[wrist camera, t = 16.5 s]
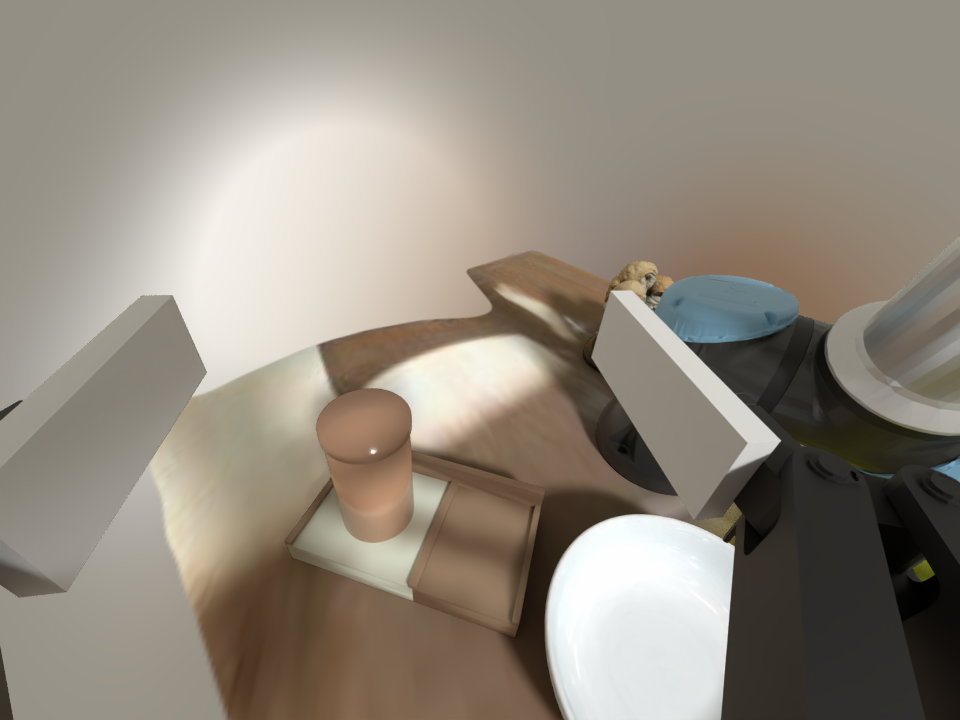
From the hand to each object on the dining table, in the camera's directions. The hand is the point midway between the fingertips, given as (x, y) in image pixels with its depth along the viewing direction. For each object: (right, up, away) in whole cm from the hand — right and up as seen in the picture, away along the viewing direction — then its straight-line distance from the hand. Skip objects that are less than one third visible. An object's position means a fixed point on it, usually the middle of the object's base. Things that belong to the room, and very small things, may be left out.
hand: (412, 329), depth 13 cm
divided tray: (-4, -19, +28) cm, 34 cm away
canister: (-8, -16, +27) cm, 32 cm away
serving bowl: (+17, -27, +20) cm, 38 cm away
